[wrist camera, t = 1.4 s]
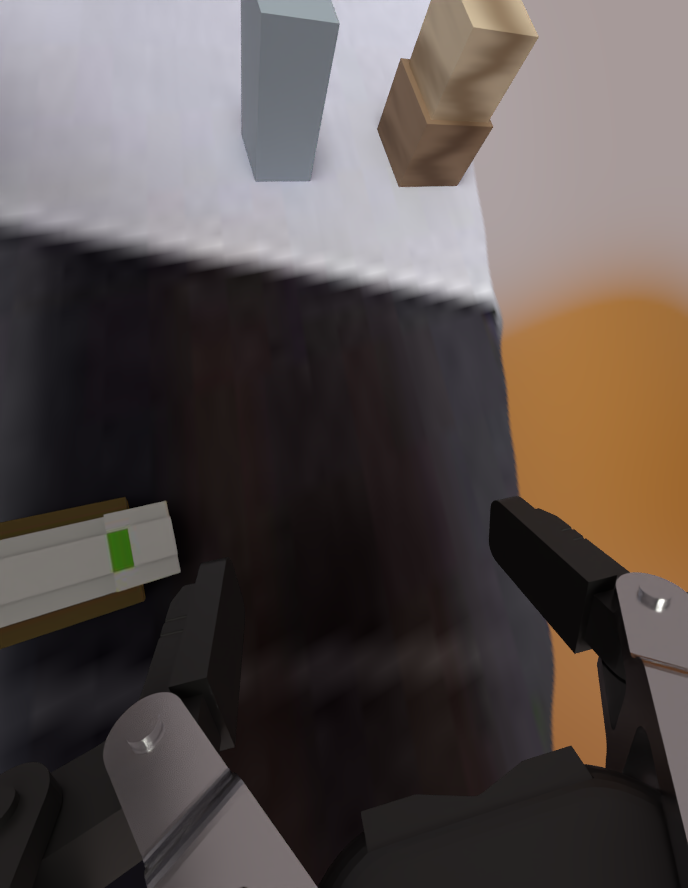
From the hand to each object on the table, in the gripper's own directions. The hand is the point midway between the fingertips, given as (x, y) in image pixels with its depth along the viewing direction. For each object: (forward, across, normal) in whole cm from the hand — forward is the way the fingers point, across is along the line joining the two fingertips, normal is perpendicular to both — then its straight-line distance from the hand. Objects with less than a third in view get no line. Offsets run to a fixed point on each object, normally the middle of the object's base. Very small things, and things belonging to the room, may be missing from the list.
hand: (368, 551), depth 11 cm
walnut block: (+35, -16, -18) cm, 43 cm away
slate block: (+32, -1, -19) cm, 37 cm away
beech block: (+30, -17, -22) cm, 41 cm away
